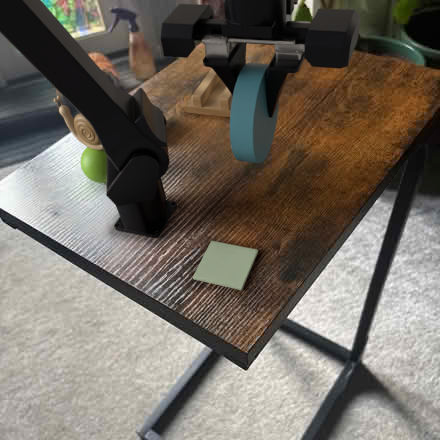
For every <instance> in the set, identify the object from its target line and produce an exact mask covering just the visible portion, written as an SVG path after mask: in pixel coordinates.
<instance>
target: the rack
mask: <svg viewBox="0 0 440 440" xmlns="http://www.w3.org/2000/svg"><path fill="white" fill-rule="evenodd" d="M247 63H254V61H253V60H249V59H246V64H247ZM232 98H233V96H232V94H231V93H230V91H229V90H228V88H227V87H226V86H225V84H224V83H223V82H222V80H221V79H220V78H219V77H218V75H217V74H216V73H215V72H214V70H213V69H212V68H210V70H209V71H208V73H207V74H206V75H205V77H204V79H203V80H202V81H201V83H200V84H199V85H198V87H197V88H196V89H195V91H194V92H193V94H192V96H191V97H190V99H188V102H187V103H186V104H185V111H186V113H190V114H198V115H205V116H206V115H207V116H216V117H225V118H230V113H231V104H232Z"/></svg>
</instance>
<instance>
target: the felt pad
mask: <svg viewBox="0 0 440 440" xmlns="http://www.w3.org/2000/svg"><path fill="white" fill-rule="evenodd" d="M258 253H259V249H256V248H251V247H245V246H240V245H235V244H231V243H226V242H220V241H216V240H211V241H210V243H209V245H208V247H207V248H206V250H205V253H204V254H203V256H202V258H201V260H200V262H199V265H198V267H197V268H196V269H195V272H194V274H193V276H192V279H193V280H194V281H199V282H204V283H207V284H213V285H217V286H221V287H225V288H229V289H234V290H238V291H243V289H244V287H245V284H246V282H247V279H248V277H249V275H250V274H251V273H250V272H251V270H252V267H253V265H254V263H255V260H256V258H257V256H258Z"/></svg>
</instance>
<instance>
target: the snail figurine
mask: <svg viewBox="0 0 440 440" xmlns="http://www.w3.org/2000/svg"><path fill="white" fill-rule="evenodd" d="M61 100H62V95H59V94H58V95H57V96H56V97H54V98H53V102H54V103H55V104H56V105H57V107H58V112H59V114H60V115H61V116H62V118H63V119H64V122H65V124H66V126H67V127H68V129H69V130H70V133H71V134H72V135H73V136H74V137H75V139H76V140H77V141H78V142H80V143H81V144H82V145H84V146H85V147H86V148H85V149H84V150H83V152H82V153H81V156H80V167H81V170H82V172H83V174H84V175H85V176H86V178H87V179H88V180H90V181H92V182H94V183H96V184H106V182H107V155H106V153H105V151H104V149H103V147H102V145H101V143H100V141H99V139H98V137H97V135H96V133H95V131H94V129H93V127H92V126H91V124H90V123H89V122H88V121H87V120H86V119H85V118H84V117H83V116H82V115H81V114H80V113H79V112H78V113H77V114H76V115H75V116H74V117H73V115H72V114H71V113H72V112H71V110H70V109H71V108H70V107H68V106H67V105H65V104H63V103H62V101H61ZM58 102H60V104H61V105H60V106H59V104H58Z"/></svg>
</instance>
